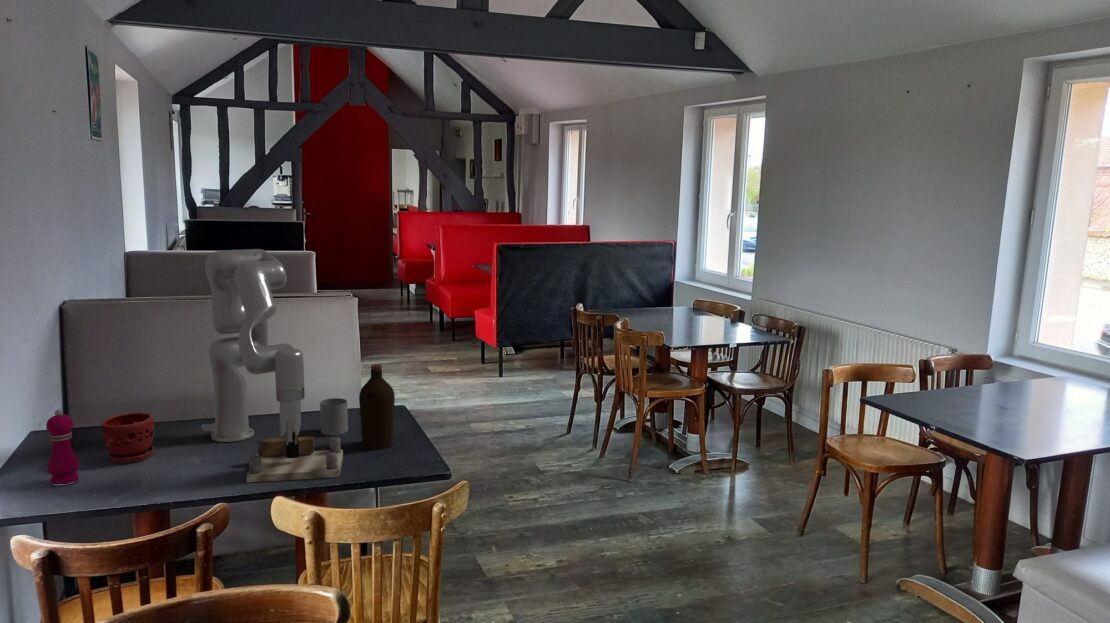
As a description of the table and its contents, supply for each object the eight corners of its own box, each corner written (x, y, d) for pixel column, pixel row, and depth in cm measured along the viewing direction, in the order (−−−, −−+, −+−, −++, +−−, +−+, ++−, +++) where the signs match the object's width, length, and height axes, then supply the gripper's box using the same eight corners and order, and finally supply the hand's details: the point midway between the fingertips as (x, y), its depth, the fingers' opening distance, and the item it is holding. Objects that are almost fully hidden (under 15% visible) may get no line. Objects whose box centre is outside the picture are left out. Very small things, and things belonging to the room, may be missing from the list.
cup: (319, 429, 255) (318, 399, 254) (345, 426, 259) (344, 397, 257) (323, 437, 248) (322, 406, 246) (349, 433, 251) (349, 403, 250)
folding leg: (257, 455, 222) (256, 442, 222) (259, 452, 225) (258, 439, 225) (313, 453, 226) (312, 439, 225) (314, 449, 229) (313, 436, 228)
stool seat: (246, 482, 210) (245, 461, 209) (257, 460, 226) (256, 440, 225) (339, 477, 215) (338, 456, 214) (343, 455, 231) (342, 436, 230)
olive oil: (397, 448, 238) (396, 368, 234) (361, 451, 235) (359, 370, 231) (393, 437, 248) (391, 360, 244) (358, 440, 245) (356, 362, 241)
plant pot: (141, 447, 236) (138, 409, 234) (164, 456, 228) (162, 417, 226) (95, 459, 225) (92, 419, 223) (118, 469, 218) (115, 428, 216)
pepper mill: (46, 489, 203) (39, 414, 200) (51, 479, 210) (44, 407, 207) (78, 485, 206) (72, 411, 203) (82, 475, 213) (76, 404, 209)
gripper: (279, 387, 223) (281, 449, 226) (272, 401, 208) (275, 467, 211) (306, 386, 224) (309, 447, 227) (302, 400, 210) (304, 465, 213)
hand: (292, 456), depth 219 cm, fingers closed
